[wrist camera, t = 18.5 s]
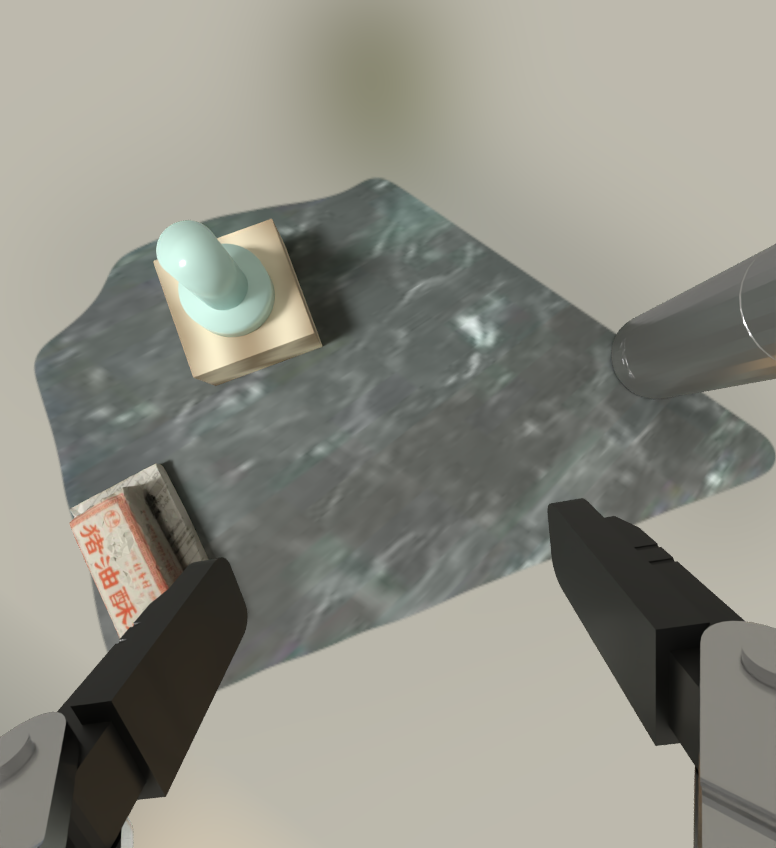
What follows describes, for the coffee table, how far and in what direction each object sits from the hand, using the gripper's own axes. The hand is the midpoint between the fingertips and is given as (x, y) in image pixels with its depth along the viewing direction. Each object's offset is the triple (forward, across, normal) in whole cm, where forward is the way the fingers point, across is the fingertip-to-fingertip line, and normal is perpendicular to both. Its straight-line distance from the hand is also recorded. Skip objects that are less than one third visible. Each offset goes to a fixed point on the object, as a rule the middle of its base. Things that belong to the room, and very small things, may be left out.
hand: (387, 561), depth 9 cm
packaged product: (+24, +28, +13) cm, 39 cm away
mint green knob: (+28, +14, -10) cm, 33 cm away
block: (+33, +14, -9) cm, 37 cm away
